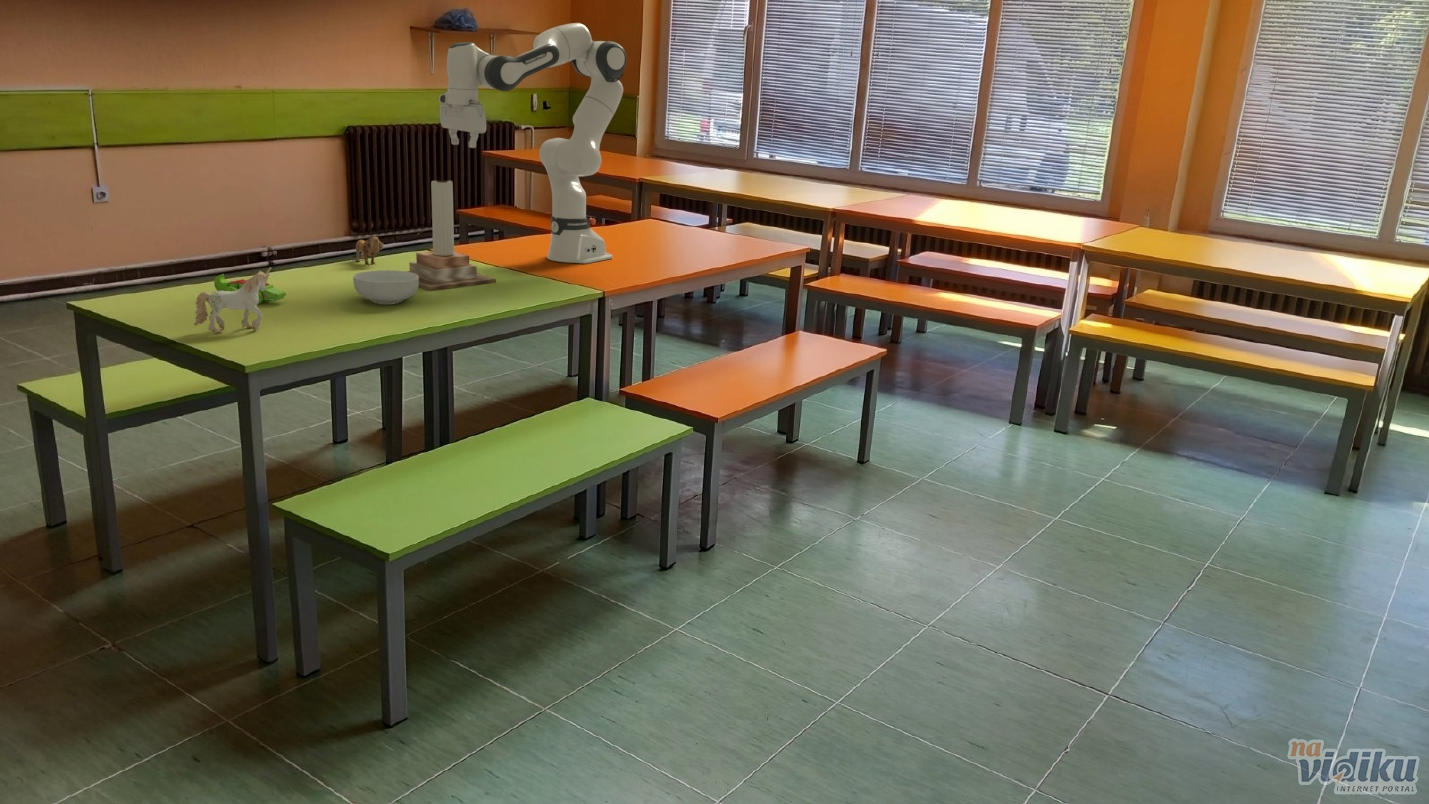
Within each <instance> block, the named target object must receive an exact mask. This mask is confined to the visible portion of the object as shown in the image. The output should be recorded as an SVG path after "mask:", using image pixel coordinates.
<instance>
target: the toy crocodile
mask: <svg viewBox="0 0 1429 804" xmlns="http://www.w3.org/2000/svg"><path fill="white" fill-rule="evenodd" d="M247 280H248V279H243V278H242V279H236V280H231V281H230V280H227V279H225V274H224V273H222V274H220V275H217V276H216V277H215V278H214V282H213V284H214V287H215V290H216V291H231V292H232V291H236V290H238V289H240V288H241V287H242V285H243V284H244V283H246V281H247ZM265 287H266V290H264V291H260V289H259V292H258V298H259V301H258V304H257V305H259V303H260V304H262V302H263V300H264V301H266V302H267V301H268V302H269V301H274V302H276V301H279V300H280V301H281V300H283V299H284V298H285V296H287V293H286V291H284V290H280V289H278V288H276V287H274V285H273V284H269V282H266V283H265Z"/></svg>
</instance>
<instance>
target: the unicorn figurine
mask: <svg viewBox="0 0 1429 804" xmlns="http://www.w3.org/2000/svg"><path fill="white" fill-rule="evenodd" d="M271 269H272V267H270V266H269V268H268V269H267V270H266V271H265V272H263V271H261V270H259V271H258V272H257V273H256V274H254V275H253V276H251V277H250V278H249V279H246V280H247V281H246V283H244V284H243V285H242V287H241V288H240V289H238V290H236V291H232V292H231V291H217V290H216V291H212V292H206V291H203V292H202V291H201V292H200V293H199V294H198V296H197V297H196V302H195V305H196V307H195V309H197V310H195V311H194V314H195V315H196V316H195V318H194V319H195V322H194V324H193V325H194V326H197V325H201V324H203V323H205V322H206V321H207V319H208V318H209V324H208V330H209V331H210V333H213V332H214V333H215V334H217V335H221V334H222V333H223V331H222V330H225V326H226V324H225V319H224V318H222V317H221V316H220V312H221V311H222V310H223V309H229V310H234V311H240V310H244V316H243V318H242V320H241V322H240V323H241V326H242V328H243V329H244V328H245V327H246V328H247V329H248V328H249V329H252V330H254V331H253V332H256V331H257V330H259V327H260V326H261V325H262V324H261V322H262V319H263V312H261V310H260V309H259V308H258V305H259V304H258V301H259V298H258V292H259V289H260V291H264V290H266V287H265V283H267V282H268V280H269V276H270V274H271V273H270V272H271ZM206 302H207V303H208V306H209V307H210V308H211V311H210V313H209V314H210V315H209V314H208V311H207V305H206ZM250 311H251V312H253V313H255V314H256V315H257V318H256V319H254V320H252V322H251V323H250V322H249V315H250ZM208 315H209V316H208ZM215 319H216V320H215ZM216 324H218V327H219V328H218V327H217V326H216ZM251 327H253V328H251ZM221 329H222V330H221Z"/></svg>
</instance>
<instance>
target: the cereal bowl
mask: <svg viewBox="0 0 1429 804" xmlns="http://www.w3.org/2000/svg"><path fill="white" fill-rule="evenodd" d="M352 281H353V282H352V283H353V286H354V289H355V291H356V293H357V294H358V295H359V296H361V297H363V298H364V299H367V300H370V302H371V303H373V302H374V303H373V304H376V303H379V304H378V305H394V304H393V303H397V304H400V303H402V302H403V301H404V300H406V299H409V298H411V297H413V296H414V295H415V294H416V293H417V291H418V288H419V276H418V275H417V274H414V273H411V272H405V271H404V270H391V269H390V270H383V269H381V270H370V271H369V270H368V271H362V272H357V273H355V274H353V276H352ZM399 302H400V303H399Z"/></svg>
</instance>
